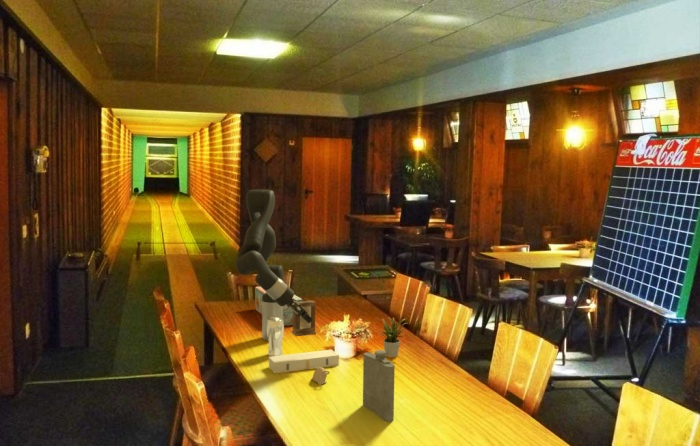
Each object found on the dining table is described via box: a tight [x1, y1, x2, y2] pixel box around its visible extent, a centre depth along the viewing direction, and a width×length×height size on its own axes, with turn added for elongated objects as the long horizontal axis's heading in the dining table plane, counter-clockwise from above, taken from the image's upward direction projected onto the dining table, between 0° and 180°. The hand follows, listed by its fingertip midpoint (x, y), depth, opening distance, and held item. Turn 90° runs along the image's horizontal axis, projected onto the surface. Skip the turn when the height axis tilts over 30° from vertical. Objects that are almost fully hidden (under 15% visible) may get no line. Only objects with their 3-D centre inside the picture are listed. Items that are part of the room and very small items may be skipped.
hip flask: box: [362, 349, 396, 423], centre depth 202 cm, size 16×4×20 cm, turn 29°
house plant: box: [378, 316, 408, 358], centre depth 262 cm, size 14×14×16 cm
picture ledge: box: [268, 349, 340, 374], centre depth 247 cm, size 26×8×4 cm, turn 114°
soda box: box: [254, 286, 304, 327], centre depth 325 cm, size 41×14×13 cm, turn 24°
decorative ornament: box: [311, 367, 331, 386], centre depth 229 cm, size 4×8×5 cm, turn 28°
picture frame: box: [291, 300, 317, 337], centre depth 245 cm, size 8×5×12 cm, turn 114°
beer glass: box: [267, 317, 285, 357], centre depth 261 cm, size 7×7×15 cm
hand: (308, 320), depth 246 cm, fingers closed on picture frame, 3 cm apart
